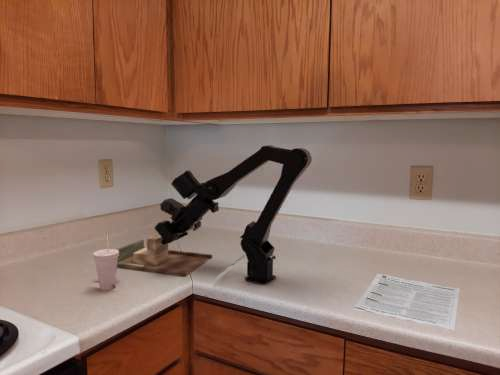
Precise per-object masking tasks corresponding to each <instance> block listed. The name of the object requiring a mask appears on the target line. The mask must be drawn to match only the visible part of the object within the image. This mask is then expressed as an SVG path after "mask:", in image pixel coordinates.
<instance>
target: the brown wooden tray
mask: <svg viewBox="0 0 500 375" xmlns="http://www.w3.org/2000/svg"><path fill="white" fill-rule="evenodd" d="M144 245H145V243H144V239H142V238H140V239H138V240H136V241H133V242H131V243H130V242H129V243H128V244H125V245H124V246H121V247H118V248H116V250H118V251H119V256H118V262H117V269H123V270H131V271H138V272H146V273H150V274H151V273H153V274H160V275H166V276H173V277H175V276H176V277H182V278H185V277H187V276H188V275H190V274H191V273H193V272H194V271H196V270H197V269H199V268H200V267H201V266H203V265H205V264H206V263H207V262H208V261H210V260H212V259H213V254H209V253H203V252H201V253H200V252H191V251H184V250H183V251H182V250H173V249H168V259H167V260H165V261H163V262H161V263H160V264H158V265H149V264H141V263H134V262H133V253H134V252H137V251H139V250H141V249H143V248H146V247H147V246H146V247H145V246H144Z"/></svg>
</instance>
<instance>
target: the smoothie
mask: <svg viewBox="0 0 500 375" xmlns="http://www.w3.org/2000/svg"><path fill="white" fill-rule="evenodd" d="M116 249H117V248H116ZM116 249H114V248H110V236H109V235H106V248H105V249H99V250H96V251H94V252H93V253H92V258H93V259H94V263H95V267H96V273H97V278H98V279H97V280H98V284H99V290H100V291H103V292H104V291H106V292H107V291H111V290H114V289H115V288H116V283H117V270H118V268H117V262H118V256H119V251H118V250H116Z"/></svg>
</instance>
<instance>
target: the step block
mask: <svg viewBox="0 0 500 375" xmlns="http://www.w3.org/2000/svg"><path fill="white" fill-rule="evenodd" d="M162 240H163V238H162V237H161V236H160V235H159V233H157V234H154V235H152V236H150V237H148V238H146V248H143V249H141V250H139V251H137V252H134V253H133V262H134V263H141V264H149V265H158V264H160V263H161V262H163V261H165V260H167V259H168V250H169V244H168V243H167V244H165V245H163V244H162V243H161V242H162Z"/></svg>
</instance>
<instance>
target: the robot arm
mask: <svg viewBox="0 0 500 375" xmlns="http://www.w3.org/2000/svg"><path fill="white" fill-rule="evenodd" d="M312 160H313V158H312V155H311V152H310V151H308V150H307V149H306V148H302V147H301V148H296V147H295V148H292V149H289V148H283V147H277V146H274V145H271V144H270V145H269V144H267V145H262V146H261V147H260V149H258V150H257V151H255V152H254V153H253V154H251V155H250V156H248V157H247V158H245V159H244V160H243V161H241V162H240V163H239V164H237V165H236V166H234V167H232V168H231V169H230V170H229V171H227V172H225V173H223V174H220V175H218V176H215V177H213V178H211V179H208V180H206V181H204V182H200V181H199V180H198V179H197V178H196V177H195V176H194V174H193V172H192V171H191V170H185V171H184V172H183V173H181V174H180V175H178V176H177V177H175V178H174V179H173V180H172V181H171V186H172V187H173V188H174V189H175V190H176V192H177V193H178V194H179V195H180V196H181V198H182V199H183V200H187V199H188V200H190V201H189V202H188V203H187V204H186V205H183V203H181V202H180V201H178V200H176V199H175V198H166V199H164V200H163V201H162V202H161V203H160V205H159V206H160V211H161V212H164V213H166V214H168V215H170V216H171V217H170V219H171V221H170V220H165V219H164V220H163V221H160V222H157V224H156V225H154V230H155V231H156V233H157V234H159V235H160V236H161V237H162V238H163V240H162V242H161V243H162V244H163V245H165V244H167V243H168V245H169V244H171V243H172V242H173V243H174V242H175V241H177V240H180V239H182V238H184V237H186V236H188V235H189V231H191V230H192V231H193V232H195V231H198V230H199V229H200V228H201V227H202V222H201V221H202V220H203V217H204V216H205V215H206V214H207V213H208V212H209V211H210V212H211V213H212V214H214V213H217V212H219V211H220V209H219V202H218V201H217V202H216V201H215V200H218V199H222V198H225V197H226V196H227V195H228V194H229V193H230V192H231V191H232V190H233V189H234V188H235V187H236V186H237V185H238V183H239V182H241V181H242V180H243V179H245V178H246V177H248V176H249V175H251V174H253V173H254V172H255V171H257V170H258V169H260V168H261V167H263V166H264V165H266V164H267V163H268V162H272V163H273V162H274V163H277V164H279V165H282V168H281V172H280V177H279V180H278V181H277V183H276V185H275V186H274V188H273V190H272V192H271V194H270V196H269V198H268V200H267V201H266V203H265V205H264V206H263V209H262V211H261V213H260V214H259V217H258V218H257V220H256V221H254V220H253V221H251V222H250V223H248V224H247V225H246V226H245V228H244V232H243V233H242V235H241V236H240V239H241V240H240V243H239V244H240V246H241V249H242V251H243V252H244V253H245V256H246V259H247V262H246V266H247V268H246V271H247V273H246V275H247V276H246V277H245V278H244V280H245V281H247V282H248V281H249V282H252V283H257V284H261V285H267V284H268V283H269V282H272V280H274V279H276V275H274V273H273V272H274V258H273V257H272V255H273V254H274V252H275V247H274V245H273V244H271V242H270V241H269V240H268V239H269V237H270V235H271V234H270V232H271V229H272V228H271V227H272V225H273V223H274V221H275V219H276V218H277V216H278V213H279V211H280V210H281V208H282V206H283V204H284V202H285V201H286V199H287V197H288V195H289V193H290V191H291V190H292V188H293V187H294V185H295V183H296V182H297V181H298V180H299V179H300V177H301V176H303V174H304V173H305V172H306V170H307V169H308V168H309V167H310V165H311V163H312Z"/></svg>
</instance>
